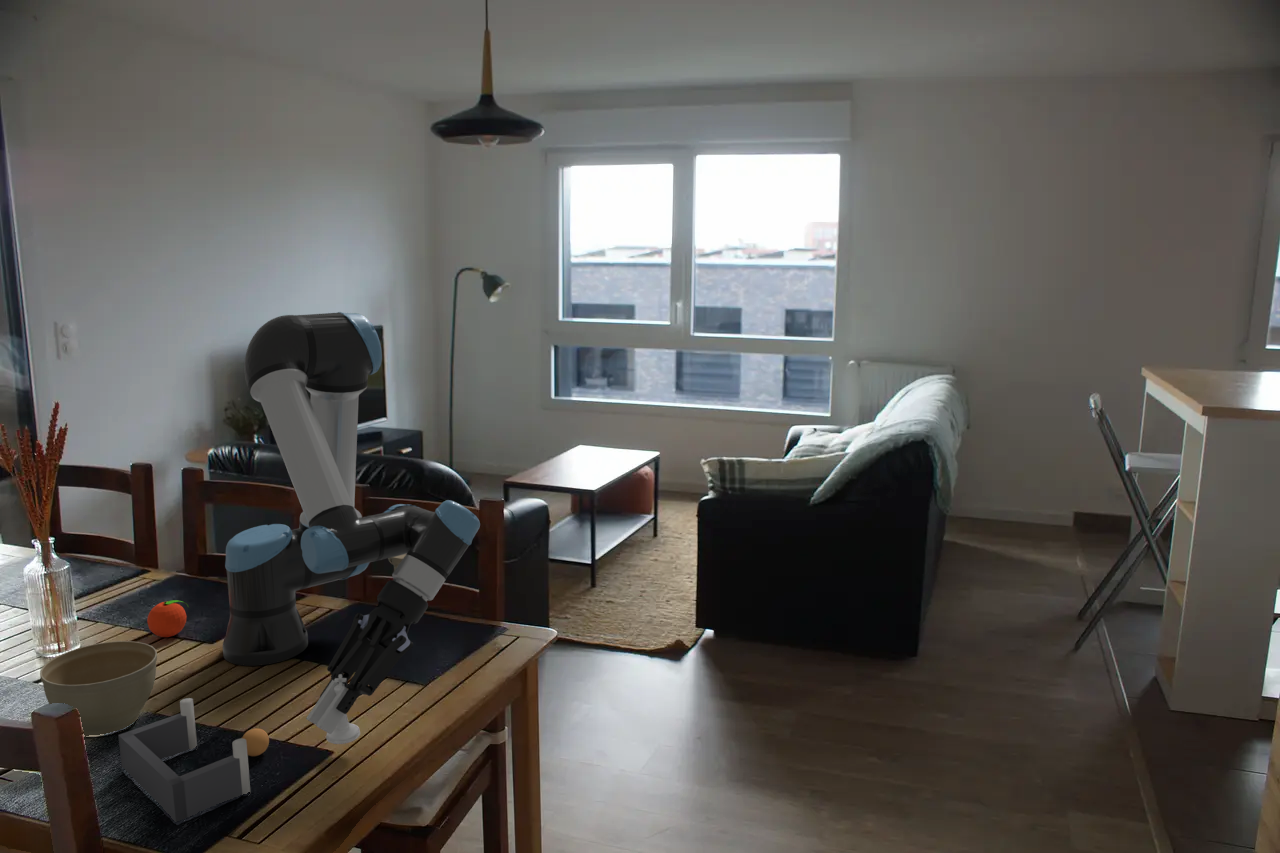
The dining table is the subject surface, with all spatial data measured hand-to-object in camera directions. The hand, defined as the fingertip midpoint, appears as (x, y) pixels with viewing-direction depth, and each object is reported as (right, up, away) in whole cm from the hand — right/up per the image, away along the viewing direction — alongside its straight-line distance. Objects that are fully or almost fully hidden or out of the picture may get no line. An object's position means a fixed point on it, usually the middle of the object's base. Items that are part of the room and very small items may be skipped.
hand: (318, 726), depth 137 cm
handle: (-1, +4, +53) cm, 53 cm away
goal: (-18, -7, -4) cm, 19 cm away
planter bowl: (-38, -4, +12) cm, 41 cm away
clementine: (-45, +3, +46) cm, 65 cm away
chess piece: (+3, -3, +4) cm, 5 cm away
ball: (-11, -3, +3) cm, 12 cm away
